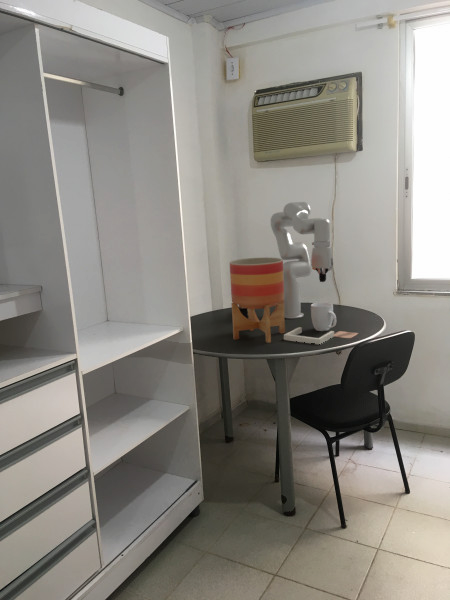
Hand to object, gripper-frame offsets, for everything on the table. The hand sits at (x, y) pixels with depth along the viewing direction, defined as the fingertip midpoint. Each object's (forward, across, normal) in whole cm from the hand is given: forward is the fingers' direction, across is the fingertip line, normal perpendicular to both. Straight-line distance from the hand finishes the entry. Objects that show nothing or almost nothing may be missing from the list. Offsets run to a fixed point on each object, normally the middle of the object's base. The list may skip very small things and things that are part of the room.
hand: (322, 281), depth 245 cm
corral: (+25, 0, -16) cm, 30 cm away
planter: (+25, -24, -23) cm, 42 cm away
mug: (+25, 0, 0) cm, 25 cm away
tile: (+25, +13, -4) cm, 28 cm away
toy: (+26, -57, +12) cm, 64 cm away
